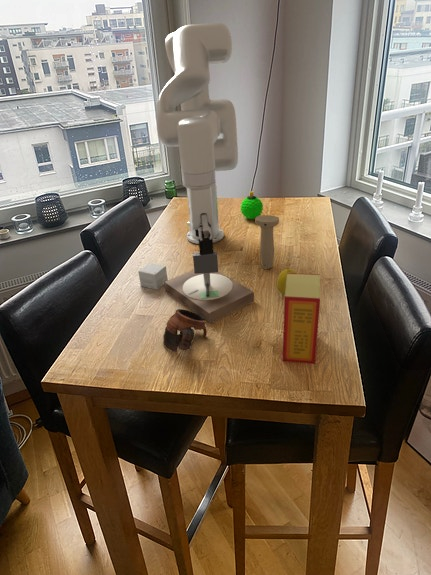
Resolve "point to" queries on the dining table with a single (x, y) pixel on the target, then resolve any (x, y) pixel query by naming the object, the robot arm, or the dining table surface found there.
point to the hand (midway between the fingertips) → (204, 244)
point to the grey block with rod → (205, 267)
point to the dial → (216, 289)
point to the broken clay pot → (182, 329)
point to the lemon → (283, 280)
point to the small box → (153, 276)
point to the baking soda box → (301, 317)
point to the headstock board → (210, 308)
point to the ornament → (251, 206)
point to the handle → (267, 239)
